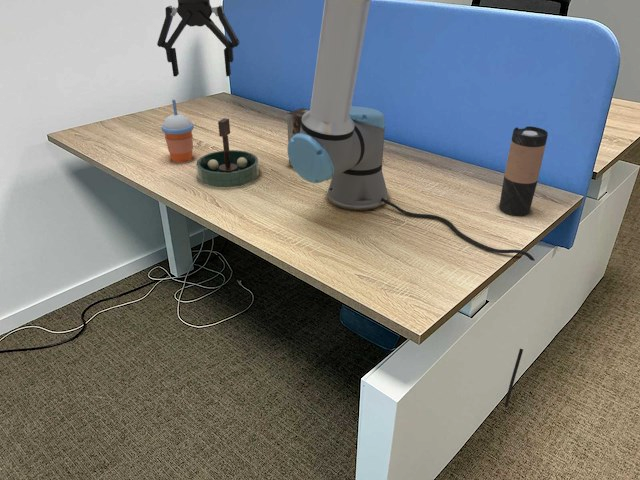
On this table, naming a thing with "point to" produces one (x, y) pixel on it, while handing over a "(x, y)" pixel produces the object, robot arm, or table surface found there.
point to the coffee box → (294, 122)
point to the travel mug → (522, 170)
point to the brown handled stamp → (226, 146)
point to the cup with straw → (178, 136)
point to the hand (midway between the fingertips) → (202, 75)
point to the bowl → (228, 178)
